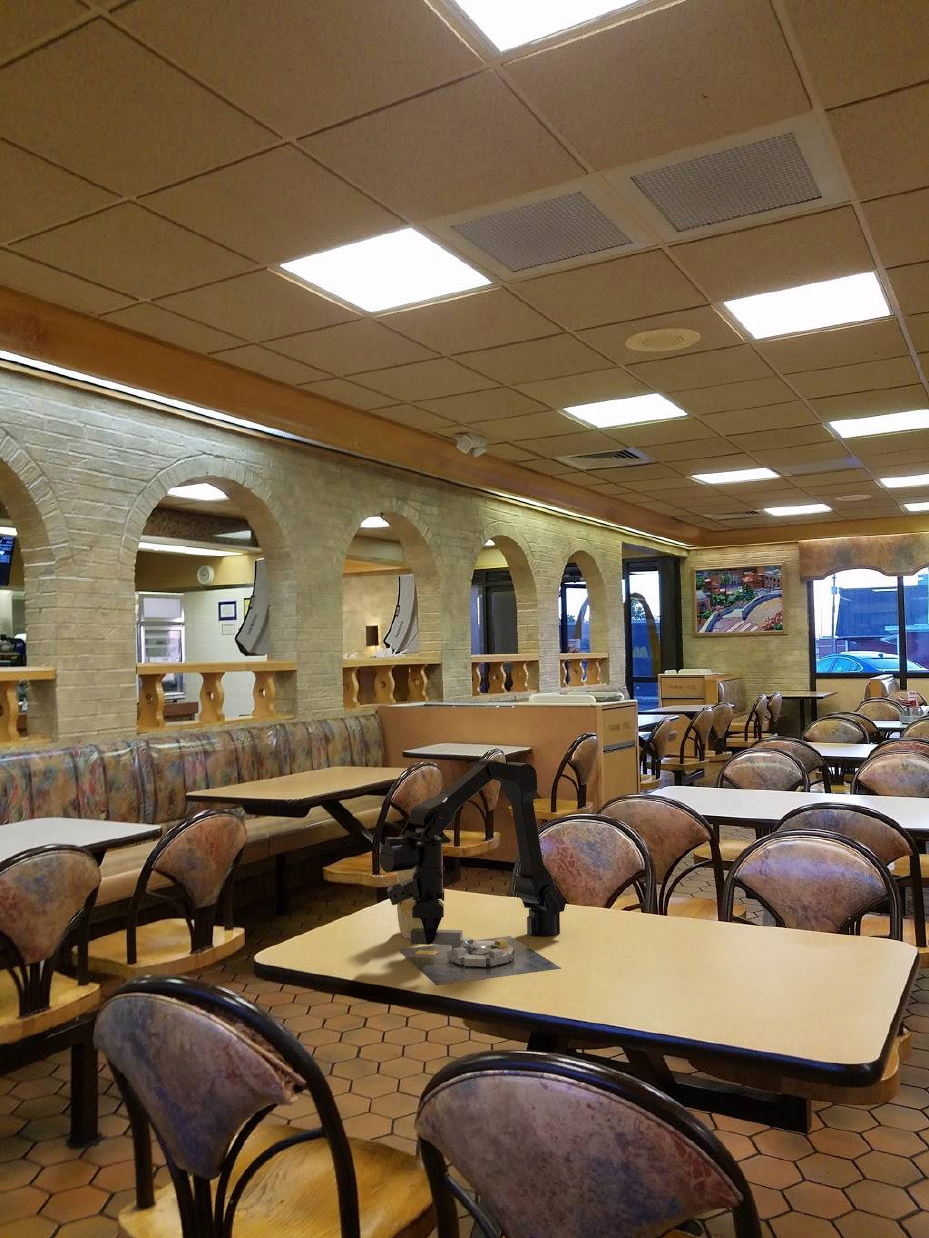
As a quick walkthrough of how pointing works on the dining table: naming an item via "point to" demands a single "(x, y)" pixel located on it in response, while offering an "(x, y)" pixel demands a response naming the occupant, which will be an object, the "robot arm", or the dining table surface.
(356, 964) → the dining table surface
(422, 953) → the cap plate
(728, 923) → the dining table surface
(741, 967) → the dining table surface
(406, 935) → the food model
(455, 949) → the grey ring frame
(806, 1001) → the dining table surface
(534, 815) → the robot arm
